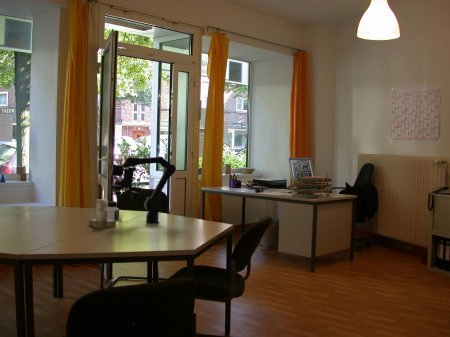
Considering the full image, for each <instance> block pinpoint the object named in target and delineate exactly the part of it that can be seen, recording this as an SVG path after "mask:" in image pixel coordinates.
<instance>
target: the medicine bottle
mask: <svg viewBox="0 0 450 337" xmlns="http://www.w3.org/2000/svg"><path fill="white" fill-rule="evenodd" d="M107 218H110V219H112V220H114V221H116V222H117V221H119V220H120V208H118V202H117V201H115V200H111V201H110V200H109V201H108V212H107Z"/></svg>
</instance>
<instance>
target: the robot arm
mask: <svg viewBox="0 0 450 337" xmlns="http://www.w3.org/2000/svg"><path fill="white" fill-rule="evenodd" d="M149 164H160V166H161V167H163V171H162V175H161V178H160V179H159V181H158V183H157V185H156V187H155V189H154V190H153V192H152V194H151V196H146V199H145V201H143V206H144V208H145V210H147V211H146V215H145V216H146V219H145V220H146V221H145V222H146V223H147V224H159V223H160V222H159V212H160V210H159V209H158V208H157V207H156V206H157V203H158V198H159V197H160V195H161V193H162V191H163V189H164V187H165V186H166V184H167V182H168V180H169V179H171V177H172V176H173V175H174V174H175V172H176V170H177V169H176V168H177V167H176V166H175V165H174V164H172V163H170V162H169V161H167V160H166V159H165V158H164V157H163V156H153V157H133V156H127V157H126V158H125V160H124V162H123V163H122V164H121V165H119V164H118V165H117V164H114V163H113V164H112V167H111V171H110V175H111V176H113V177H121V176H122V178H121V179H120V180H119V179H115V180H114V184H112V185H111V186H110V190H112V192H114V194H115V198H116V202H117V204H119V202H120V200H121V197H122V196H121V195H122V191H130V200H129V203H130V204H132V203H133V202H134V200H135V199H136V197H137V196H138V195H140V193H142V188H141V187H138V186H133V182H134V172H138V170H137V168H136V166H140V165H149Z"/></svg>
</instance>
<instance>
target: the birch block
mask: <svg viewBox="0 0 450 337" xmlns="http://www.w3.org/2000/svg"><path fill="white" fill-rule="evenodd" d="M108 202H109V201H108V199H104V198H103V199H102V198H100V199H98V198H97V199H96V207H95V208H96V210H95V211H96V212H95V213H96V214H95V215H96V216H95V219H96V220H98V221H107V212H108Z"/></svg>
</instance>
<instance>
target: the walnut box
mask: <svg viewBox="0 0 450 337" xmlns="http://www.w3.org/2000/svg"><path fill="white" fill-rule="evenodd" d="M116 224H117V221H114V220H112V219H110V218H107V221H98V220H96V218H89V220H88V225H89V226H90V227H92V228H94V229H96V230H97V229H107V228H116V227H117V226H116Z"/></svg>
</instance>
